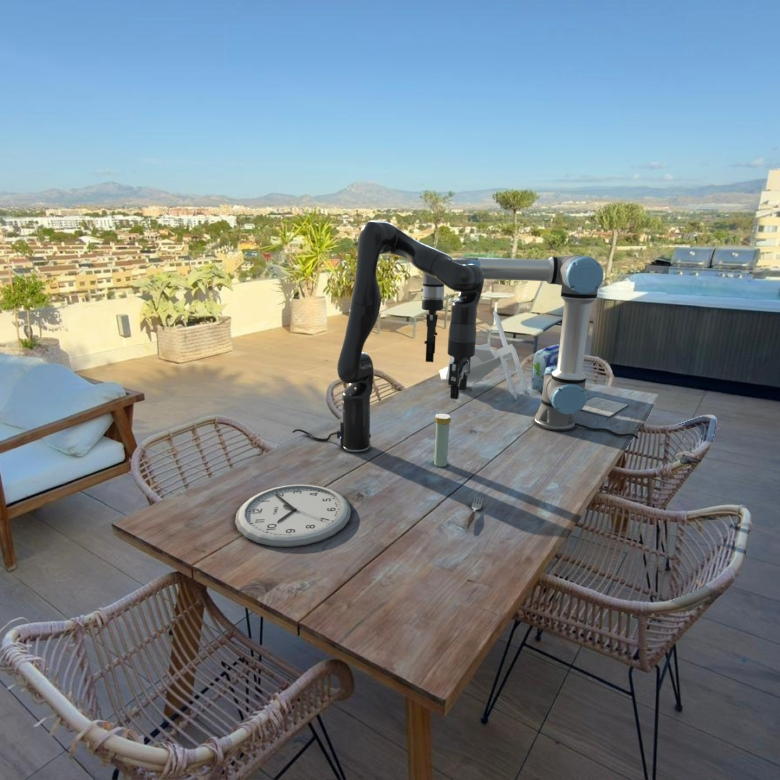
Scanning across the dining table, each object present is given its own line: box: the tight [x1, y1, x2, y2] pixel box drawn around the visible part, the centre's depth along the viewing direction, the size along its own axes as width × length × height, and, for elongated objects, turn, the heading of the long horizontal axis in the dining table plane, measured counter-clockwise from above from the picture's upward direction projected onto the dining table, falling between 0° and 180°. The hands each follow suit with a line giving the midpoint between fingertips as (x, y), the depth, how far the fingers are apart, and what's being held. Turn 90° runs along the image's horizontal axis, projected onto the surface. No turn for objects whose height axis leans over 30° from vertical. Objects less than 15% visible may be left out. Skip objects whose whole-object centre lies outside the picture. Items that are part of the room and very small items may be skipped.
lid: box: [434, 413, 452, 425], centre depth 164 cm, size 5×5×2 cm
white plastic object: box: [438, 310, 531, 400], centre depth 245 cm, size 37×45×31 cm
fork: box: [466, 495, 484, 530], centre depth 138 cm, size 3×16×2 cm, turn 160°
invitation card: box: [580, 396, 629, 418], centre depth 226 cm, size 21×1×15 cm
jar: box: [433, 422, 450, 468], centre depth 167 cm, size 4×4×16 cm
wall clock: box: [234, 484, 352, 548], centre depth 138 cm, size 30×2×30 cm
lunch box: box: [530, 344, 560, 393], centre depth 247 cm, size 26×11×21 cm, turn 134°
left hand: (458, 394), depth 149 cm, fingers open, 8 cm apart
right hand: (430, 357), depth 190 cm, fingers open, 13 cm apart
